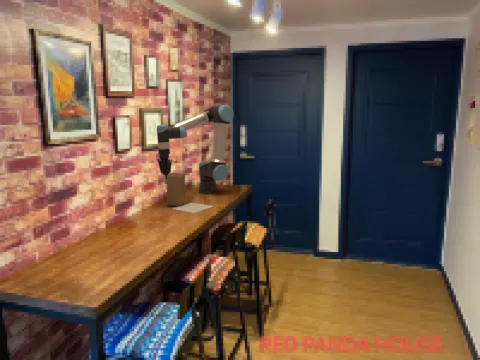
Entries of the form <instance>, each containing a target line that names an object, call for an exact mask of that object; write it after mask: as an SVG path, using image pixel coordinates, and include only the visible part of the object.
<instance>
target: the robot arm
mask: <svg viewBox="0 0 480 360" xmlns="http://www.w3.org/2000/svg"><path fill="white" fill-rule="evenodd" d="M234 115H235V114H234V111H233V108H232V107H230V106H229V105H227V104H221V105H213V106H210V107H208V108H206V109H204V110H202V111H201V112H200V113H198V114H196V115H193V116H192V117H191V116H190V117H188V118H186V119H184V120H181V121H179V122H176V123H174V124H171V125H168V124H159V125H156V136H157V148H158V150H157V151H158V156H159V157H158V158H157V159H156V160H157V162H158V167H159V172H160V173H161V174H162V176H163V177H162V179H163V184H164V185H167V175H169V174H170V173H172V163H173V159H171V158H170V157H171V156H170V154H171V149H170V148H171V147H170V140H173V139H174V140H175V139H177V140H178V139H184V138H185V137H186V135H187V131H189V130H192V129H195V128H196V127H199V126H201V125H203V124H206V125H207V124H209V123H213V125H214V126H215V128H214V137H213V138H214V140H213V147H212V148H213V150H212V158H211V160H209V161H202V162H201V161H200V162H199V165H198V169H199V185H198V193H200V194H213V193H217V192H219V186H218V184H217V181H224V180H225V179H226V178H227V177H228V175H229V169H228V167H227V162H226V161H225V155H226V146H227V145H226V143H227V142H226V141H227V134H228V133H227V132H228V127H229V126H230V125H231V121H232V120H233V119H234Z"/></svg>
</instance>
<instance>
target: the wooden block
mask: <svg viewBox="0 0 480 360" xmlns="http://www.w3.org/2000/svg"><path fill="white" fill-rule="evenodd" d="M185 202H186V174H185V173H179V172H178V173H177V172H171V173H169V174H168V175H167V184H166V205H167V206H176V207H179V206H183V205H184V203H185Z"/></svg>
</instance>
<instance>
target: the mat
mask: <svg viewBox="0 0 480 360" xmlns="http://www.w3.org/2000/svg"><path fill="white" fill-rule="evenodd" d="M214 207H215V206H214V205H209V204H203V203H196V202H190V203H187V204H186V203H185V204H182V205H181V206H176V207H173V208H171V211H172V210H173V211H178V212H183V213H188V214H193V215H194V214H197V213H200V212H202V211H206V210H209V209H212V208H214Z"/></svg>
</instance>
